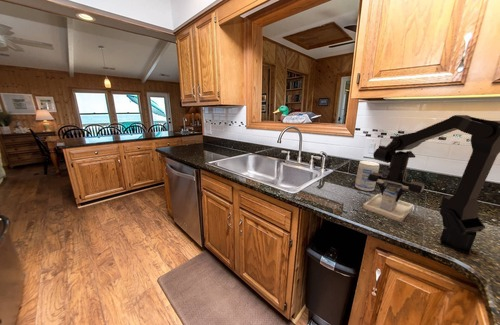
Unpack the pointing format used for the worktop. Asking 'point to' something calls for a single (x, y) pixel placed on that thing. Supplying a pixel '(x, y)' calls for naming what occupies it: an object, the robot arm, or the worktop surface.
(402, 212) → the dish
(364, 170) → the supplement tub
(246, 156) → the worktop surface
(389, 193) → the medicine box
